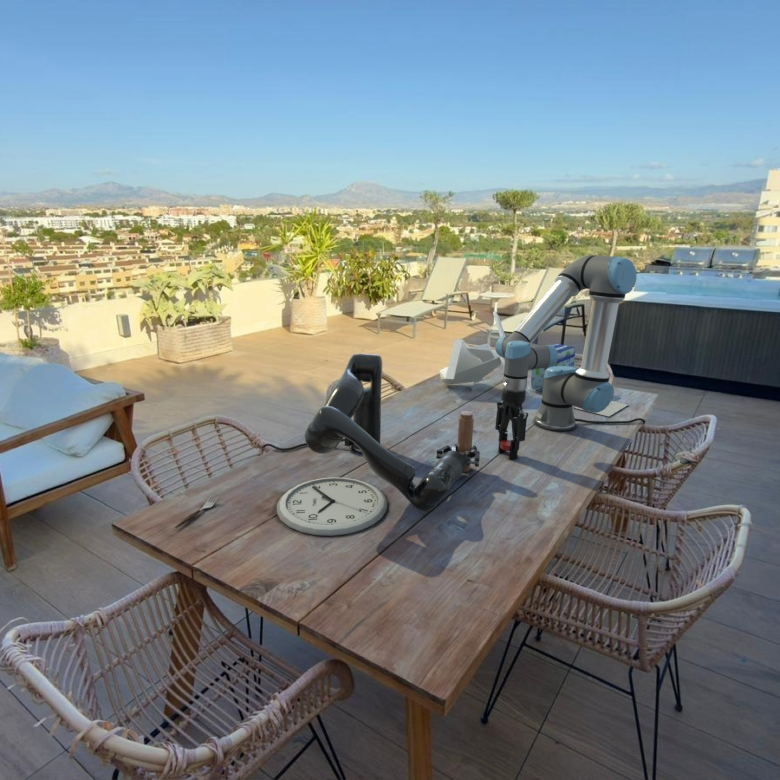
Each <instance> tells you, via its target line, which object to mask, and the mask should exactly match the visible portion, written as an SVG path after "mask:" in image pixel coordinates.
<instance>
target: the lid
mask: <svg viewBox="0 0 780 780" xmlns="http://www.w3.org/2000/svg"><path fill="white" fill-rule="evenodd" d="M511 440H512V439H507V440H502V441H501V443H500V448H501V449H503V450H506V452H510V444H511Z"/></svg>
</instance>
